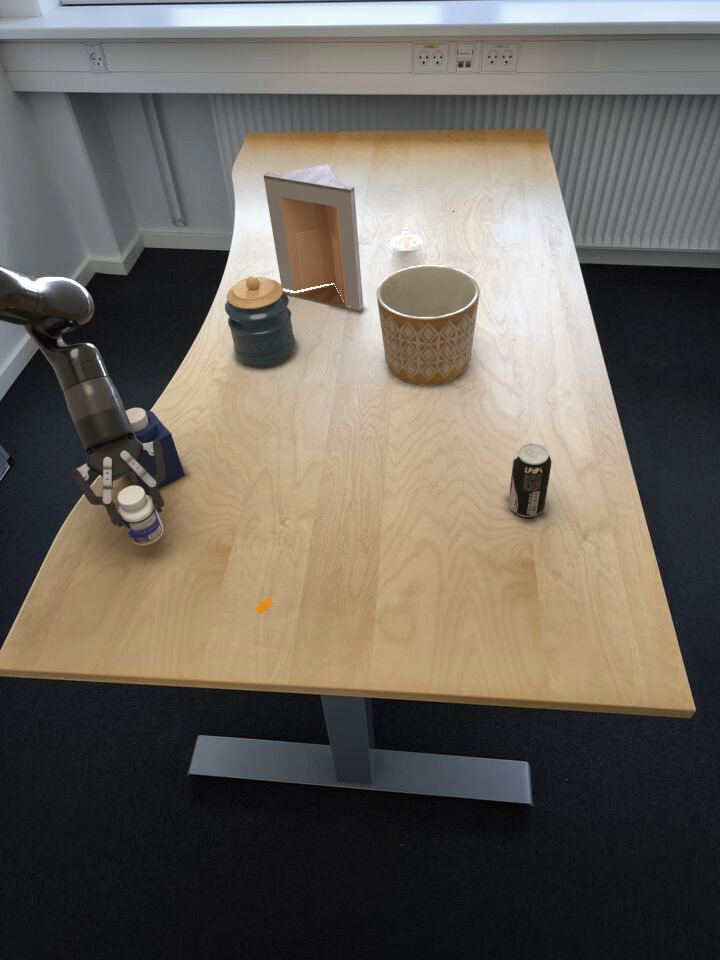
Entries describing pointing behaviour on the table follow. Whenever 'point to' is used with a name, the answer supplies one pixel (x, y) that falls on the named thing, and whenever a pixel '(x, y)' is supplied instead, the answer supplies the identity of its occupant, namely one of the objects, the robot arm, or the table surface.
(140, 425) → the white bottle cap
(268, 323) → the canister
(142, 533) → the pill bottle
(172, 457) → the blue push button box
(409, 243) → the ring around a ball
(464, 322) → the planter
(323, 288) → the cabinet
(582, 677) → the table surface
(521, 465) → the beverage can
